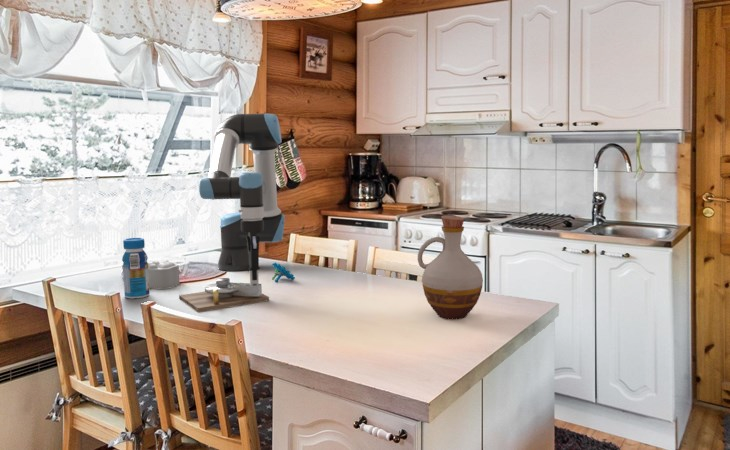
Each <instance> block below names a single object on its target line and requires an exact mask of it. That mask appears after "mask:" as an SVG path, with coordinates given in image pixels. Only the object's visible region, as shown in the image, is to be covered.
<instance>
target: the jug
mask: <svg viewBox="0 0 730 450" xmlns="http://www.w3.org/2000/svg"><path fill="white" fill-rule="evenodd" d="M440 218H441V222H442V226H441V231H442V232H443V236H444V238H443V237H442V236H441V237H440V236H435V237H431V238H429V239H427V240H426V241H424V243H423V244H421V247H420V248H419V250H418V252H417V262H418V265H419V267H420V268H422V269H424V270H423V272H422V278H421V282H422V283H421V284H422V288H423V292H424V296H425V298H426V301H427V303H428V304H429V305H430V307H431V309H432V311H434V313H436V315H438V317H439V318H441V319H444V320H451V321H453V320H454V321H455V320H463V319H465V318H466V317H467V316H468V315H469V314H470V313H471V311H472V310H473V309H474V308H475V306H476V305H477V303H478V301H479V298H480V296H481V293H482V289H483V283H484V278H483V274H482V273H483V272H481V270H480V267H479V266H478V265H477V264H476V263H475V262H474V261H473V260H472V259H471V258H469V256H468V255H467V254H466V253H465V252H464V250H462V248H461V247H462V246H461V244H462V243H461V241H462V234H463V232H464V229H465V226H463V225H464V221H465V217H462V216H457V215H441V217H440ZM433 243H440V244H442V251H441V252H440V253H439V254H438V255H437V256H436V257H435V258H434V259H433V260H431V261H430V262H428V263H424V260H423V254H424V253H425V251H426V249H427V248H428V247H429V246H430V245H431V244H433Z"/></svg>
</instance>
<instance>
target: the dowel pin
mask: <svg viewBox="0 0 730 450" xmlns="http://www.w3.org/2000/svg"><path fill="white" fill-rule="evenodd" d="M213 298H214V304H215V305H217V304H219V294H218V290H213Z"/></svg>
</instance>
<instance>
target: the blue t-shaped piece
mask: <svg viewBox="0 0 730 450" xmlns="http://www.w3.org/2000/svg"><path fill="white" fill-rule="evenodd" d="M272 266H273V268H274V269H275V270H274V275H273V277H272V278H271V280H273V281H274V282H275V283H278V282H279V280H280V279H281V278H282V277H286V278H287V279H290V280H291V281H294V280H295V279H296V278H295V277H296V276H295V275H294V274H293V273H291V271H290V270H289V269H286V266H284V265H281V264H280V263H277V262H273V263H272Z"/></svg>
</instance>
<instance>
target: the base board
mask: <svg viewBox="0 0 730 450" xmlns="http://www.w3.org/2000/svg"><path fill="white" fill-rule="evenodd" d="M178 296H179V297H178V299H179V300H180V301H182V302H183V303H184V304H185V305H188V306H189V307H190V308H191V309H193V310H194V311H196V312H197V313H200V312H207V311H212V310H217V309H224V308H231V307H236V306H238V307H239V306H242V305H248V304H255V303H256V304H257V303H261V302H268V301H270V297H269V296H268V295H265V294H264V293H262V294H261V295H260V296H239V295H233V293H230V294H219V304H217V305H215V304H214V298H213V294H209V293H206V292H205V291H198V292H193V293H192V292H191V293H185V294H178Z"/></svg>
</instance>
